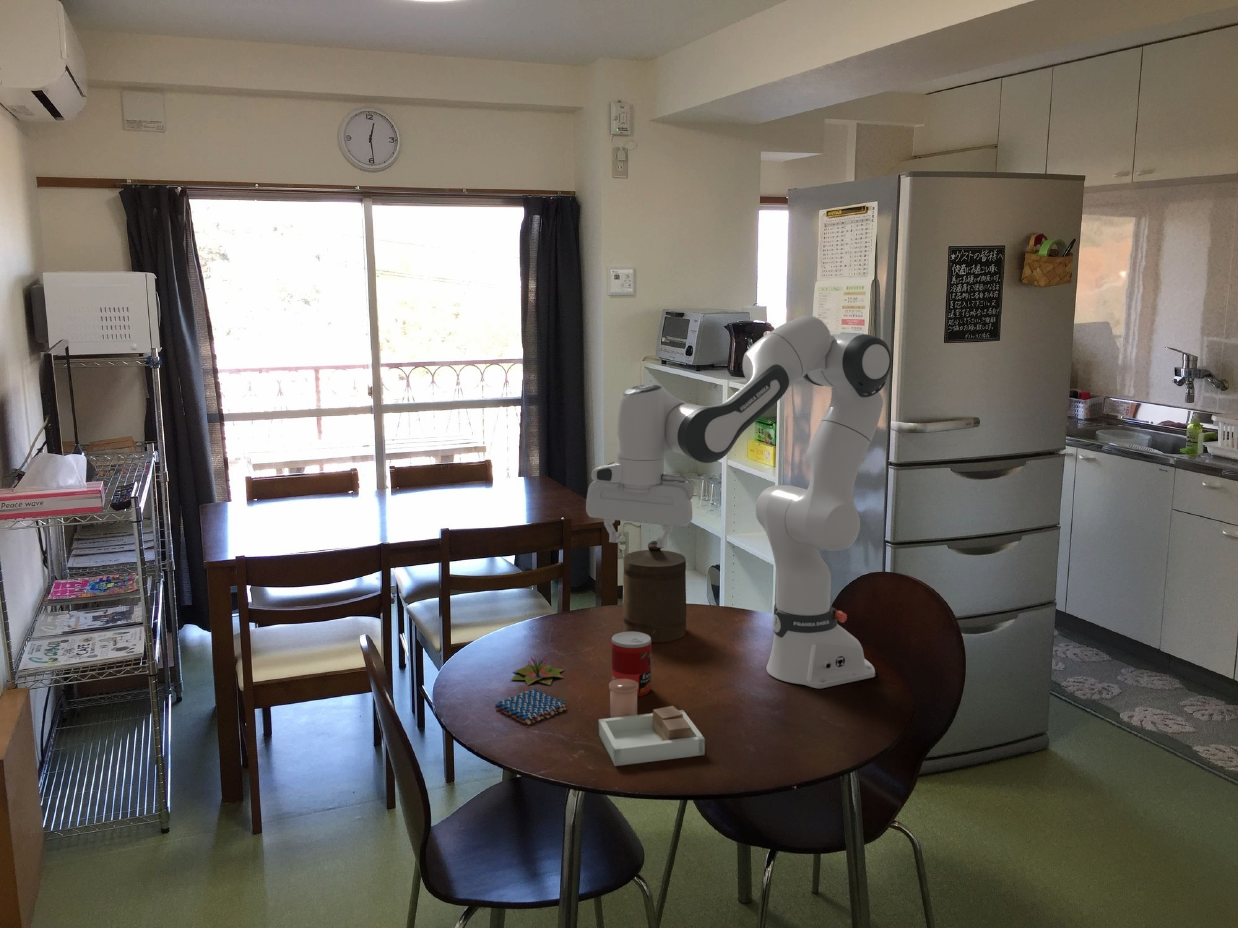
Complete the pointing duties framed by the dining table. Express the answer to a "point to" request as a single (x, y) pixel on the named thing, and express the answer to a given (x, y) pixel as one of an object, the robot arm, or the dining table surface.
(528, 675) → the lily flower
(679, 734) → the block
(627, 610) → the wooden container
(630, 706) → the pink lidded jar
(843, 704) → the dining table surface
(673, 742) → the tray
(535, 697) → the woven mat
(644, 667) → the canned food
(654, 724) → the block
